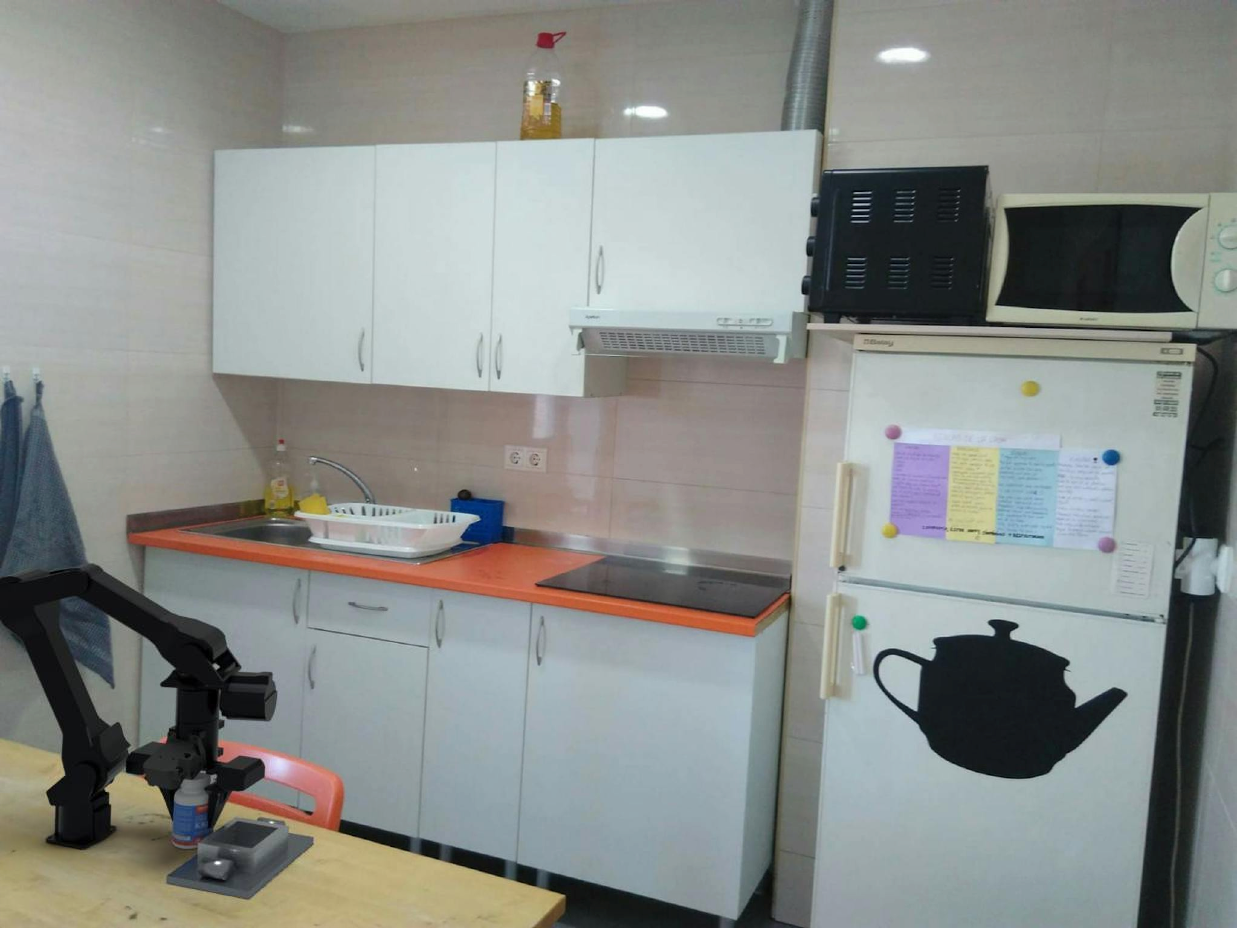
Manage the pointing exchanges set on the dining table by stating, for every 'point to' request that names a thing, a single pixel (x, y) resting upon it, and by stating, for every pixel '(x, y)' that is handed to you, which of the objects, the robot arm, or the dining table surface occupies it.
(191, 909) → the dining table surface
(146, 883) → the dining table surface
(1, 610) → the robot arm
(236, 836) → the base
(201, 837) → the pill bottle
